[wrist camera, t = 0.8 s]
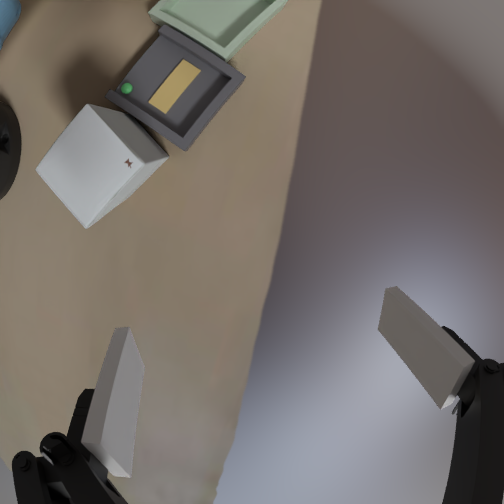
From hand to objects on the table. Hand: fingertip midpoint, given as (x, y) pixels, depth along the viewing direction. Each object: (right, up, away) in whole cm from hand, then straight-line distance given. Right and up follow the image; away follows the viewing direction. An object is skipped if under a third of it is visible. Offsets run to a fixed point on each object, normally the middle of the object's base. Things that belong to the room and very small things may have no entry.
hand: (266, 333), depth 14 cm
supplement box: (-15, +15, +17) cm, 27 cm away
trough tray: (-5, +32, +11) cm, 34 cm away
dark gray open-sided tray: (-9, +22, +14) cm, 28 cm away
